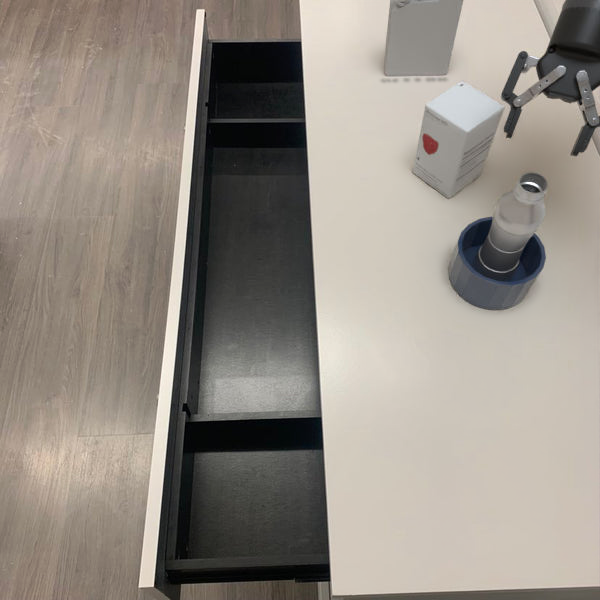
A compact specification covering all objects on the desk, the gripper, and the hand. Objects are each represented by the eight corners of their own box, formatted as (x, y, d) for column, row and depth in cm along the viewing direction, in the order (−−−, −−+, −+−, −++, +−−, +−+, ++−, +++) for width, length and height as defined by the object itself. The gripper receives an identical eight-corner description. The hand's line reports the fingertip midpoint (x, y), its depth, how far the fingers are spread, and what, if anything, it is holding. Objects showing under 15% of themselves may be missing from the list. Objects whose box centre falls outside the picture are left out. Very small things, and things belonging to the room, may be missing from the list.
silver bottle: (518, 266, 83) (567, 174, 66) (503, 298, 80) (551, 210, 63) (478, 250, 85) (517, 156, 68) (462, 280, 82) (498, 191, 65)
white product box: (410, 172, 95) (423, 103, 83) (444, 148, 98) (461, 77, 85) (448, 200, 92) (468, 132, 79) (482, 175, 94) (507, 105, 82)
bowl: (547, 287, 82) (564, 260, 76) (483, 323, 79) (496, 299, 73) (493, 233, 88) (505, 205, 82) (432, 265, 85) (440, 238, 79)
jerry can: (372, 77, 110) (383, -54, 89) (371, 62, 113) (382, -69, 91) (447, 76, 109) (476, -57, 88) (444, 61, 112) (472, -72, 90)
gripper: (537, -7, 64) (487, 129, 69) (664, 18, 60) (602, 160, 65) (532, 13, 71) (487, 135, 75) (645, 36, 67) (591, 162, 72)
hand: (540, 146), depth 70 cm, fingers open, 8 cm apart
